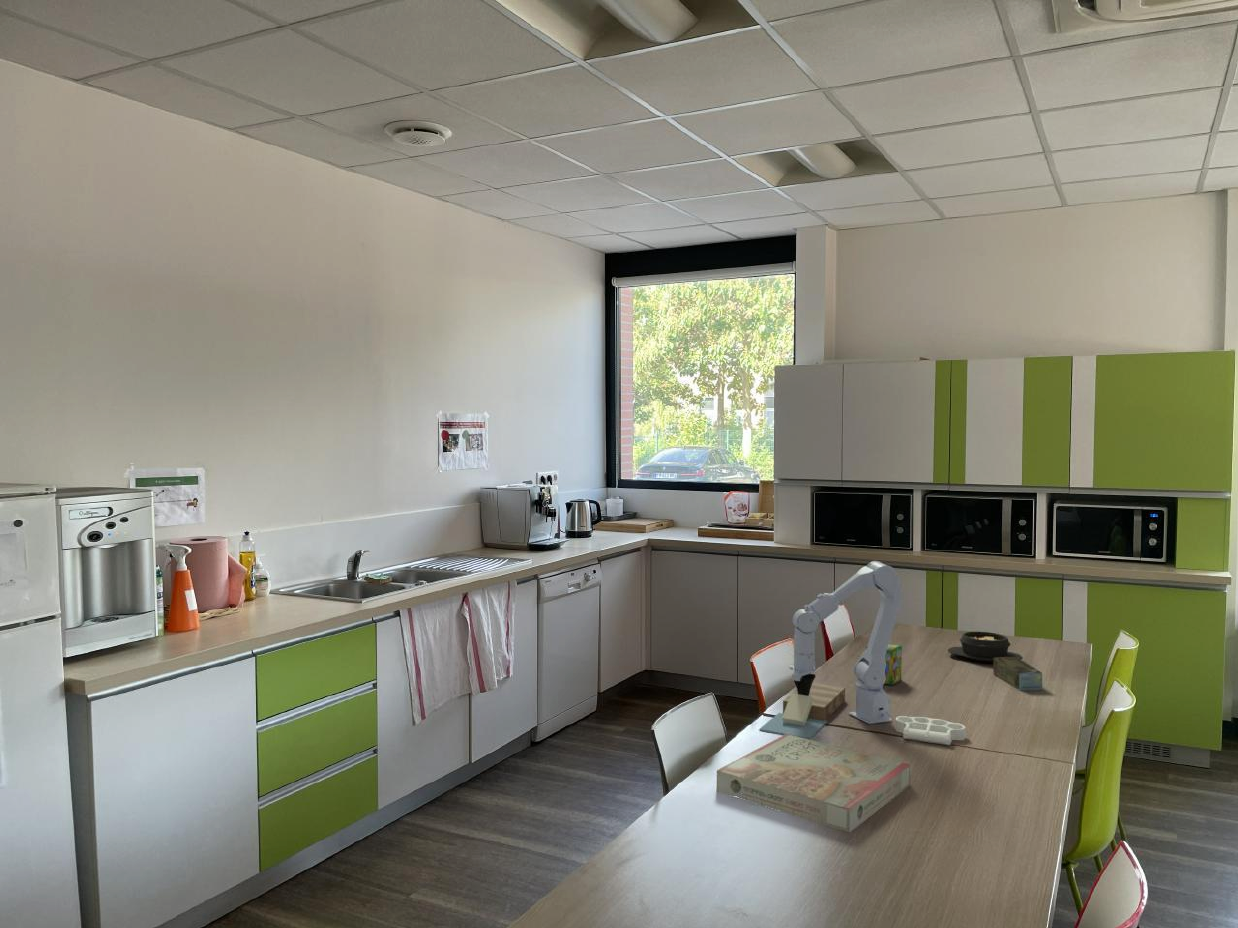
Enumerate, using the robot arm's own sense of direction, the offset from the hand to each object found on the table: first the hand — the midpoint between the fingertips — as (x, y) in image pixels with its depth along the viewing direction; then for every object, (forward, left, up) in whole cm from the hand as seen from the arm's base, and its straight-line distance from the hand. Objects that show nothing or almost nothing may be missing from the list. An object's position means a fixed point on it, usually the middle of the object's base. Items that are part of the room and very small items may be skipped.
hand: (803, 700), depth 256 cm
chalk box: (+24, -46, -5) cm, 52 cm away
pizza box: (-44, +25, -6) cm, 51 cm away
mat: (-6, +7, -5) cm, 10 cm away
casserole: (+35, -98, -5) cm, 104 cm away
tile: (-3, +3, -2) cm, 5 cm away
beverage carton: (+8, -86, -6) cm, 87 cm away
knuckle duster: (-24, -24, -6) cm, 34 cm away
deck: (+7, -8, -5) cm, 12 cm away
